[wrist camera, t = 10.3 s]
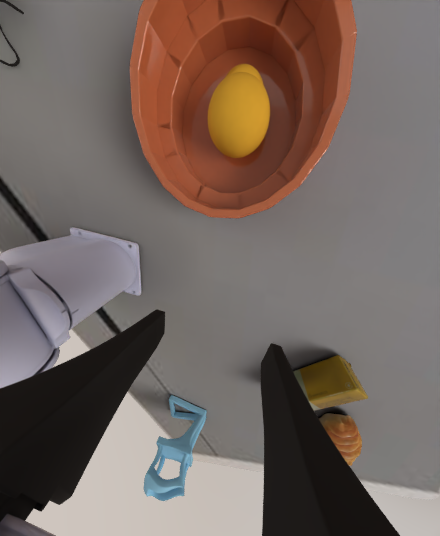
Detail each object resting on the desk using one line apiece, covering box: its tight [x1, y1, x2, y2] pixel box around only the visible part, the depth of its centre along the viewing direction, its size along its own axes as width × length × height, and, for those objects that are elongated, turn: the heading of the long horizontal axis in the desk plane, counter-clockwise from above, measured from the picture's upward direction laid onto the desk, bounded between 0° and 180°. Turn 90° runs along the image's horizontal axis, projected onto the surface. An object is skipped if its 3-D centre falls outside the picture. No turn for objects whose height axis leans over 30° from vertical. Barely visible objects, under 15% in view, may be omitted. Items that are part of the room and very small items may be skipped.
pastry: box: [318, 413, 362, 466], centre depth 25 cm, size 9×7×4 cm
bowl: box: [130, 0, 357, 218], centre depth 11 cm, size 12×13×5 cm
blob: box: [208, 64, 270, 158], centre depth 11 cm, size 4×5×4 cm
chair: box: [144, 395, 207, 501], centre depth 30 cm, size 8×8×12 cm
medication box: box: [293, 355, 368, 411], centre depth 21 cm, size 12×3×4 cm, turn 139°
